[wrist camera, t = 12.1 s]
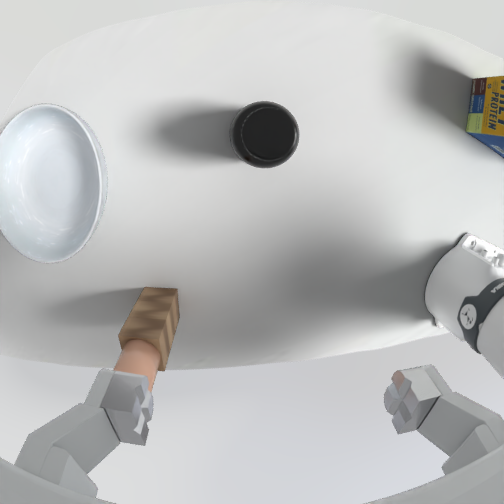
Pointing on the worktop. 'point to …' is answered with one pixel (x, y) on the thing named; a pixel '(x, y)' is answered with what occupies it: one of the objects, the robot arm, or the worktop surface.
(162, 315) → the block middle
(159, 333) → the block top
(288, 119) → the supplement bottle
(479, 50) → the worktop surface
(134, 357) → the cylinder
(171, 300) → the block bottom
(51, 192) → the serving bowl
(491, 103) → the protein box
